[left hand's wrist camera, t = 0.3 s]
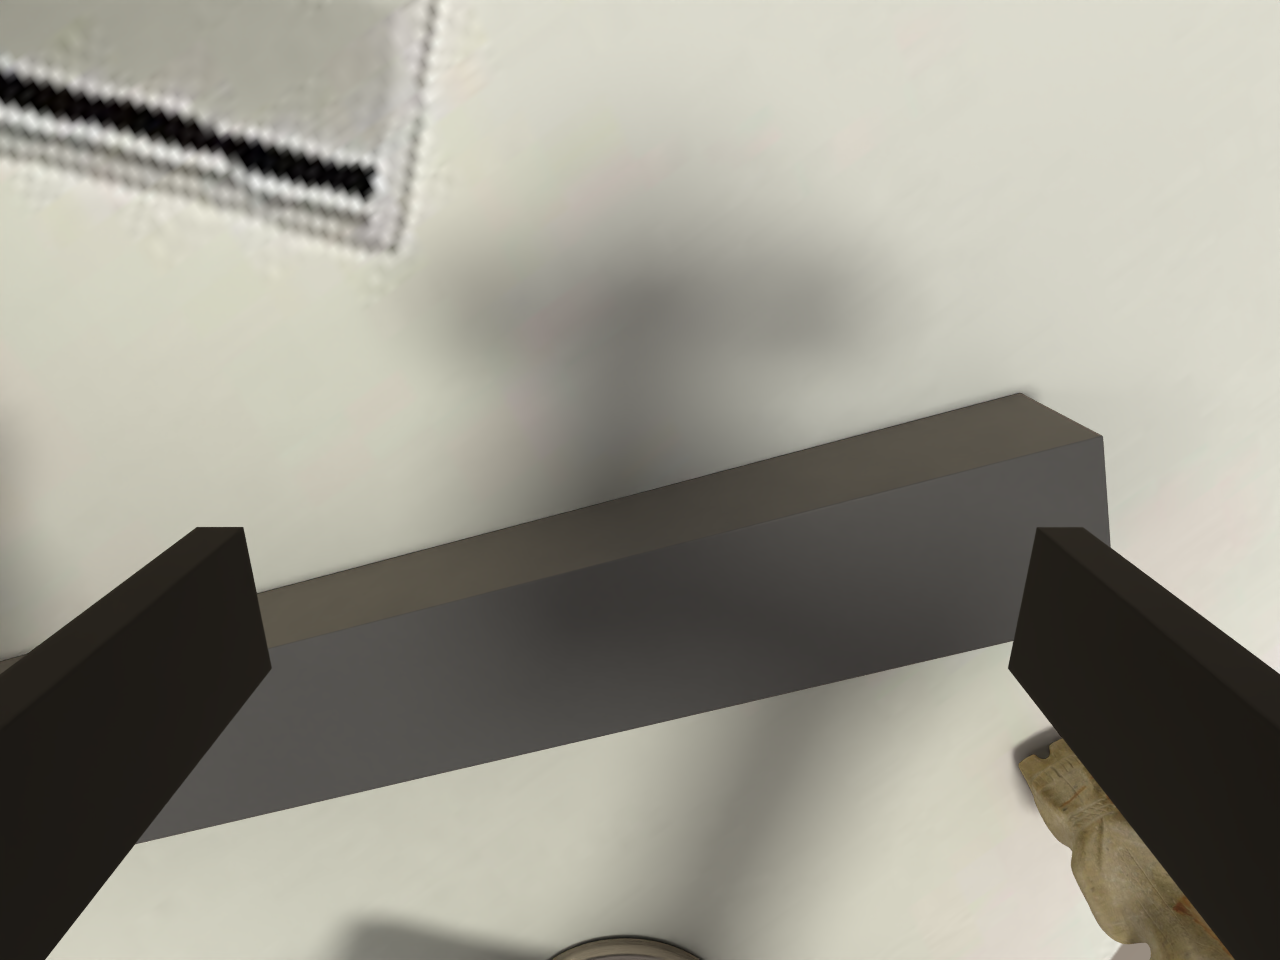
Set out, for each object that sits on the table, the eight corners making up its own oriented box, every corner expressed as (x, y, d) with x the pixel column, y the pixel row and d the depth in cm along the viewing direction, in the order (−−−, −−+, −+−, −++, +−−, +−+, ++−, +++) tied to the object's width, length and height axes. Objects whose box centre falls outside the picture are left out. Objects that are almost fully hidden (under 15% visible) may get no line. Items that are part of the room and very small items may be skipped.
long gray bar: (1020, 392, 39) (1103, 435, 32) (1037, 547, 42) (1116, 617, 35) (-177, 707, 46) (-323, 799, 39) (-86, 820, 49) (-206, 923, 42)
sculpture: (1040, 829, 49) (1202, 1086, 35) (991, 756, 47) (1141, 998, 33) (1126, 788, 48) (1329, 1037, 33) (1079, 711, 45) (1274, 942, 31)
